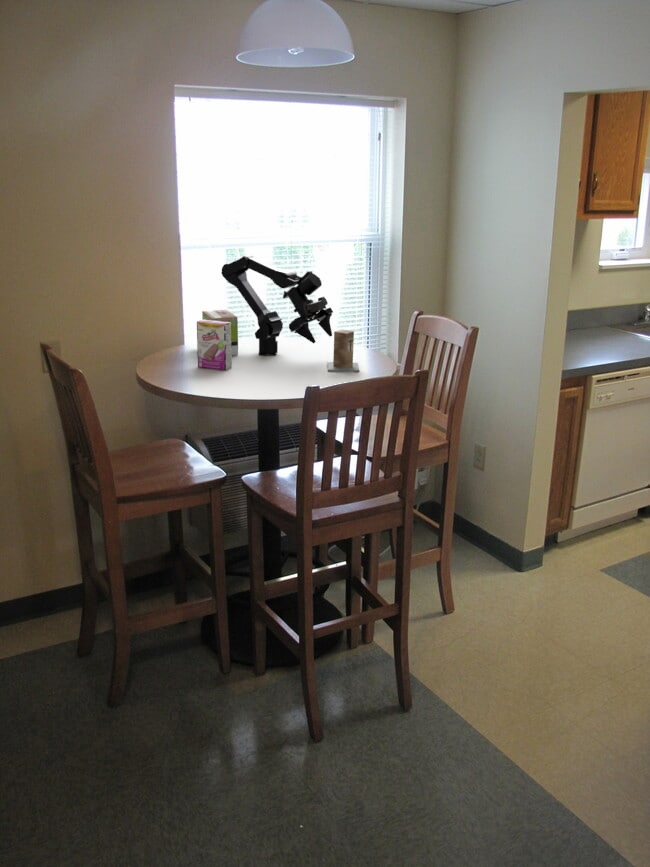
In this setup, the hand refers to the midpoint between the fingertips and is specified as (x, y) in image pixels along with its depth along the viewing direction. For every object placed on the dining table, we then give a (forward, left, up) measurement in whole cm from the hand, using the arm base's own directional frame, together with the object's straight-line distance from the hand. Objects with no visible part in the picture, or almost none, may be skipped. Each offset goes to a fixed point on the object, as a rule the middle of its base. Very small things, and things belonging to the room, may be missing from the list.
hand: (323, 339), depth 273 cm
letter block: (+7, -6, -8) cm, 12 cm away
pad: (+7, -6, -9) cm, 13 cm away
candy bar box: (-38, -10, -9) cm, 40 cm away
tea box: (-39, +15, -9) cm, 43 cm away
